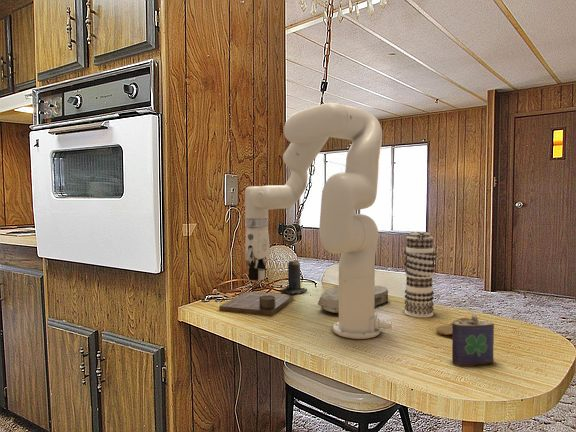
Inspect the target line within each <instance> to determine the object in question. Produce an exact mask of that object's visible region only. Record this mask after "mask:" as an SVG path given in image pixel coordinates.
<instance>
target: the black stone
mask: <svg viewBox="0 0 576 432" xmlns="http://www.w3.org/2000/svg"><path fill="white" fill-rule="evenodd" d="M259 307H260V308H262V309H272V308H274V307H275V297H274V296H270V295H266V296H261V297H259Z"/></svg>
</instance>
